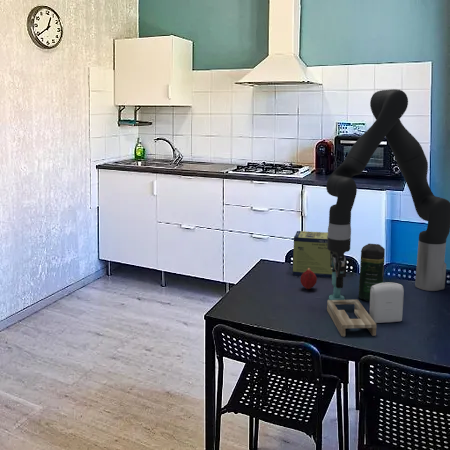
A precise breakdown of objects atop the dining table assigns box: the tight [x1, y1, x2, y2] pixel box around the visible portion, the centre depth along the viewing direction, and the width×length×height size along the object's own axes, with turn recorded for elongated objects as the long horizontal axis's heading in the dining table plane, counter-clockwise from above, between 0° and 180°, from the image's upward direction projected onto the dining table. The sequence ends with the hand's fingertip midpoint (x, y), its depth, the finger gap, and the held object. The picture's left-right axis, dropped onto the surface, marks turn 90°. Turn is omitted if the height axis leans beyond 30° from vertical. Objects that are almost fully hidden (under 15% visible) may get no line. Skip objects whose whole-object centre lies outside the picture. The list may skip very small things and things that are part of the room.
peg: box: [328, 271, 345, 300], centre depth 186 cm, size 5×5×10 cm
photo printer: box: [368, 281, 405, 324], centre depth 169 cm, size 10×4×12 cm, turn 96°
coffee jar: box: [358, 243, 386, 302], centre depth 188 cm, size 10×8×19 cm
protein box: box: [292, 230, 332, 279], centre depth 215 cm, size 10×16×16 cm
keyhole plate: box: [326, 299, 378, 337], centre depth 169 cm, size 10×20×4 cm, turn 2°
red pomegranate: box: [299, 268, 318, 290], centre depth 197 cm, size 6×6×8 cm
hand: (337, 284), depth 185 cm, fingers open, 5 cm apart
